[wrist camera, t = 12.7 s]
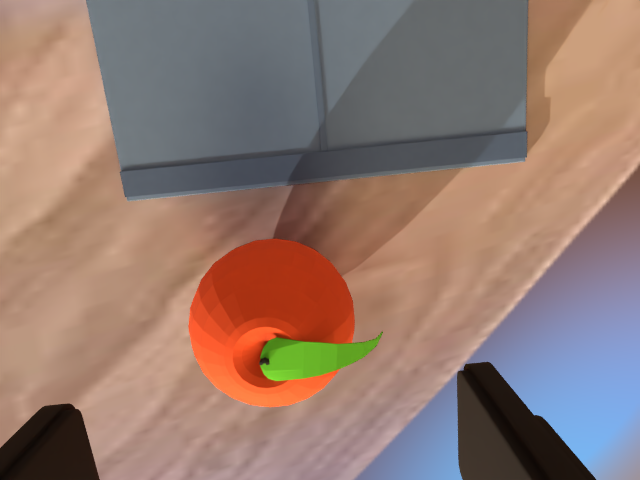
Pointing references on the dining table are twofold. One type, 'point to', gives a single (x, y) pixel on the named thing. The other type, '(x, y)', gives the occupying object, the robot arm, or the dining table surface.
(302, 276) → the clementine
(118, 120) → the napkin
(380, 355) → the dining table surface
